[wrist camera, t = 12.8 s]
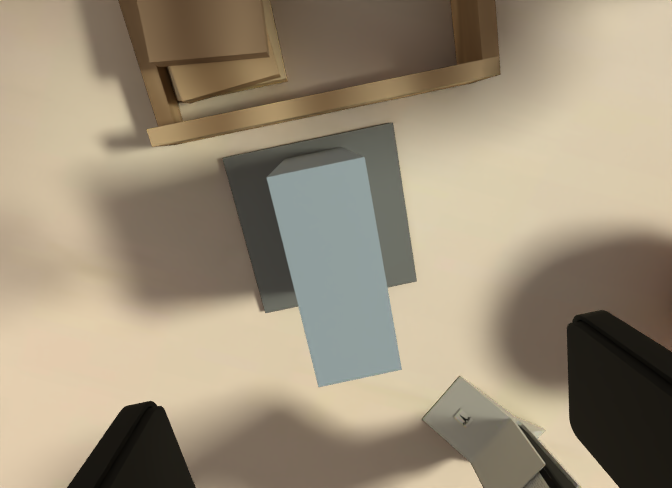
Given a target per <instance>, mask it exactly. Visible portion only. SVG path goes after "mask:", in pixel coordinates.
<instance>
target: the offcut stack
mask: <svg viewBox="0 0 672 488" xmlns="http://www.w3.org/2000/svg"><path fill="white" fill-rule="evenodd" d="M137 4H138V9H139V13H140V18H141V23H142V28H143V33H144V37H145V42H146V47H147V52H148V57H149V62H150V63H152V64H154V65H156V66H159V67H166V66H168V69H169V73H170V76H171V79H172V83H173V86H174V89H175V93H176V96H177V100H178V101H181V102H187V103H193V102H196V101H200V100H203V99H207V98H210V97H214V96H219V95H224V94H229V93H234V92H238V91H243V90H248V89H253V88H258V87H263V86H267V85H272V84H277V83H282V82H287V76H286V72H285V67H284V62H283V58H282V53H281V49H280V44H279V39H278V35H277V30H276V26H275V21H274V17H273V12H272V7H271V3H270V0H137Z"/></svg>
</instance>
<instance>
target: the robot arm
mask: <svg viewBox="0 0 672 488" xmlns="http://www.w3.org/2000/svg"><path fill="white" fill-rule="evenodd" d="M567 349H568V385H569V419H570V424H571V427H572V430H573V432H574V433H575V435H576V436H577V438H578V439H579V440H580V441H581V443H582V444H583V445H584V446H585V447H586V449H587V450H588V451H589V452H590V453H591V455H592V456H593V457H594V458H595V459H596V460H597V462H598V463H599V464H600V465H601V466H602V468H603V469H604V470H605V471H606V472H607V473H608V475H609V476H610V477H611V478H612V479H613V481H614V482H615V483H616V484H617V485H618V487H619V488H672V352H671V351H669V350H668V349H666V348H665V347H663V346H661V345H660V344H658V343H657V342H655V341H653V340H652V339H650V338H649V337H647V336H645V335H644V334H642V333H641V332H639V331H637V330H636V329H634V328H633V327H631V326H630V325H628V324H626V323H625V322H623V321H622V320H620V319H618V318H617V317H615V316H614V315H612V314H610V313H609V312H607V311H604V310H600V311H595V312H590V313H585V314H580V315H576V316H575V317H574V319H573V323H570V324H568V327H567ZM67 488H195V485H194V483H193V480H192V478H191V475H190V473H189V470H188V467H187V465H186V462H185V460H184V457H183V455H182V452H181V450H180V447H179V445H178V442H177V440H176V437H175V435H174V432H173V430H172V427H171V424H170V422H169V419H168V417H167V414H166V412H165V410H164V408H163V407H162V406H157V405H156V404H155V403H154V402H152V401H148V402H143V403H138V404H133V405H128V406H125V407H124V408H123V409H122V410H121V411H120V413H119V414H118V415H117V417H116V418H115V420H114V421H113V423H112V424H111V425H110V427H109V428H108V430H107V431H106V433H105V434H104V435H103V437H102V438H101V440H100V441H99V443H98V444H97V446H96V447H95V448H94V450H93V451H92V453H91V454H90V456H89V457H88V458H87V460H86V461H85V463H84V464H83V466H82V467H81V469H80V470H79V471H78V473H77V474H76V476H75V477H74V479H73V480H72V481H71V483H70V484H69V486H68V487H67Z"/></svg>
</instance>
